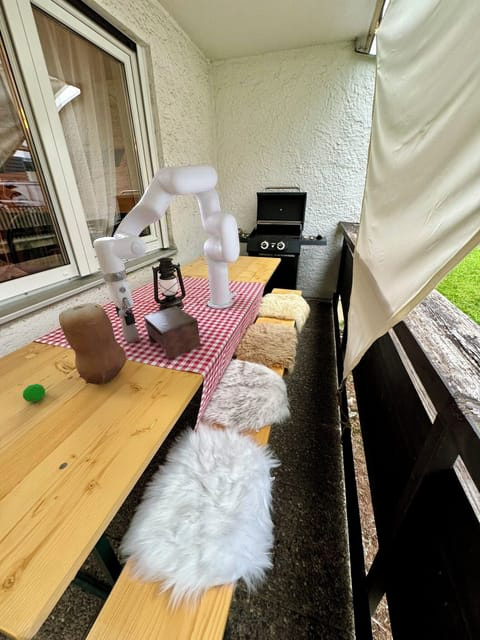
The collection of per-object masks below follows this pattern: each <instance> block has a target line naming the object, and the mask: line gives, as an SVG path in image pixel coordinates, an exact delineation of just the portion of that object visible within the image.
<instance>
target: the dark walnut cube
mask: <svg viewBox="0 0 480 640" xmlns="http://www.w3.org/2000/svg"><path fill="white" fill-rule="evenodd" d="M143 319H144V323H145V328H146V333H147V336H148V341H149V342H150V343H154V342H157V343H158V344H159V346H161V347H162V348H163V349H164V352H165V355H166V360H167V361H171V360H173V359H174V358H178V357H180V356H182V355H184V354H186V353H188V352H190V351H191V352H192V351H193V350H195V349H198V348H199V347H201V346H202V345H201V337H200V329H199V321H198V320H199V319H197V318H195V317H194V316H192V315H190V314H189V313H188V312H186V311H184V310H183V309H182V308H180V307H179V306H178V305H174V306H171V307H168V308H165V309H162V310H159V311H155V312H152V313H149V314H147V315H146V314H145V315H144V316H143Z"/></svg>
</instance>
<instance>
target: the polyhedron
mask: <svg viewBox="0 0 480 640" xmlns="http://www.w3.org/2000/svg"><path fill="white" fill-rule="evenodd" d="M45 395H46V389H45V387H44V386H43V385H42V384H39V383H35V384H33V383H32V384H30V385H28V386H27V387H25V389H24V390H23V391H22V398H23V399H24V400H25V401H26V402H29V403H35V402H38V401H40V400H42V399H43V398H44V396H45Z"/></svg>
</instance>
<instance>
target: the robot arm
mask: <svg viewBox="0 0 480 640" xmlns="http://www.w3.org/2000/svg"><path fill="white" fill-rule="evenodd" d="M218 179H219V178H218V172H217V171H216V169H215V168H214V167H213V166H212V165H211V164H208V163H198V164H189V165H174V166H173V165H172V166H165V167H161V168H159V169H158V170H157V171H156V172H155V174H154V176H153V177H152V179H151V180H150V183H149V185H147V188H146V189H145V191H144V193H143V195H142V196H141V198H140V200H139V201H138V202H137V204H136V205H134V206H133V208H131V210H130V211H129V212H128V213H127V214H126V215H125V217H124V218H122V220H121V222H120V224H119V225H118V227H117V228H116V230H115V232H114V234H113V237H111V236H110V237H106V236H105V237H100V238H96V239H95V240H93V249H94V252H95V256H96V260H97V263H98V266H99V269H100V273H101V276H102V279H103V283H105V284H107V288H108V291H109V294H110V299H111V301H112V303H113V304H114V308H115V311H116V315H117V317H119V318H121V317H120V316H119V311H120V310H123V312H124V315H125V316H124V318H125V322H126V325H127V326H129V325H132V324H135V325H136V317H135V314H134V310H133V307H135V302H134V300H133V295H132V293H131V290H130V289H131V288H130V287H129V283H128V281H127V279H128V274H127V271H126V266H125V261H124V260H131V259H139V258H141V257H143V256H144V255H145V254H146V252H147V244H146V242H145V240H144V239H143V238H142V237H140V235H141V233H142V232H143V230H145V229H146V228H147V227H149V226H150V225H153V224H154V223H157V222H158V221H160V220H161V219H162V218H163V217H164V215H165V213H166V211H167V209H168V208H169V206H170V204H171V203H172V201H173V200H174V197H175V196H187V195H194V197H195V198H196V200H197V203H198V207H199V212H200V219H201V224H202V228H203V230H204V232H205V233H206V234H207V235H210V236H212V237H209V238H208V239H206V240H205V242H204V244H203V254H204V257H205V261H206V267H207V276H208V277H207V278H208V287H209V288H208V289H209V299H208V300H207V301H206V302H207V303H206V304H207V306H208V307H209V308H212V309H216V310H217V309H219V310H220V309H227V308H230V307H231V306H232V305H233V304H234V299H233V297H237V296H238V292H237V291H234V292H232V291H230V277H229V274H230V273H229V265H228V264H233V263H236V261H237V260H238V259H239V256H240V254H241V253H240V252H241V247H240V236H239V228H238V223H237V220H236V218H235V217H234V216H233V215H232V214H231V213H229V212H226V211H222V209H221V208H222V207H221V203H220V198H219V194H218V192H217V189H216V186H217V184H218ZM125 309H127V310H126V311H125Z"/></svg>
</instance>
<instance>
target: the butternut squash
mask: <svg viewBox="0 0 480 640" xmlns="http://www.w3.org/2000/svg"><path fill="white" fill-rule="evenodd" d="M58 322H59V326H60V328H61V331H62V333H63V336H64V338H65V340H66V341H67V343H68V345H69V347H70V348H71V349H72V350H73V352H74V354H75V356H74V357H75V358H74V365H75V368H76V371H77V373H78V375H79V376H80V377H81V379H83V381H85V382H86V383H87V384H90V385H91V384H92V385H103V384H107V383H109V382H110V381H112V380H113V379H115V378H116V377H117V376H118V375H119V373H120V372H121V370H122V369H123V368H124V367H125V365H126V363H127V354H126V352H125V349H124V348H123V347H122V345H120V344H119V342H118V341H117V339H116V336H115V332H114V328H113V327H114V326H113V323H112V321H111V319H110V316H109V315H108V313H107V311H106V309H105V308H104V307H103V306H102V305H100V304H99V303H96V302H86V303H82V304H79V305H75V306H72V307H68V308H66V309H65V310H62V311H61V312H60V313H59V315H58Z"/></svg>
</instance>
